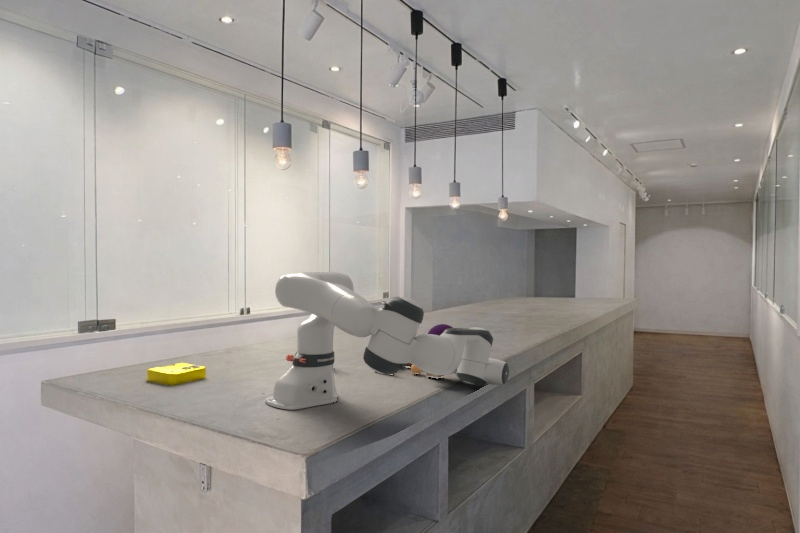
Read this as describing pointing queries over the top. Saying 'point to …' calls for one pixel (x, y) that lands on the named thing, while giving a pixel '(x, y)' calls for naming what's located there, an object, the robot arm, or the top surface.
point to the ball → (415, 369)
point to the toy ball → (439, 329)
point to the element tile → (176, 373)
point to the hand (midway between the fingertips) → (434, 361)
